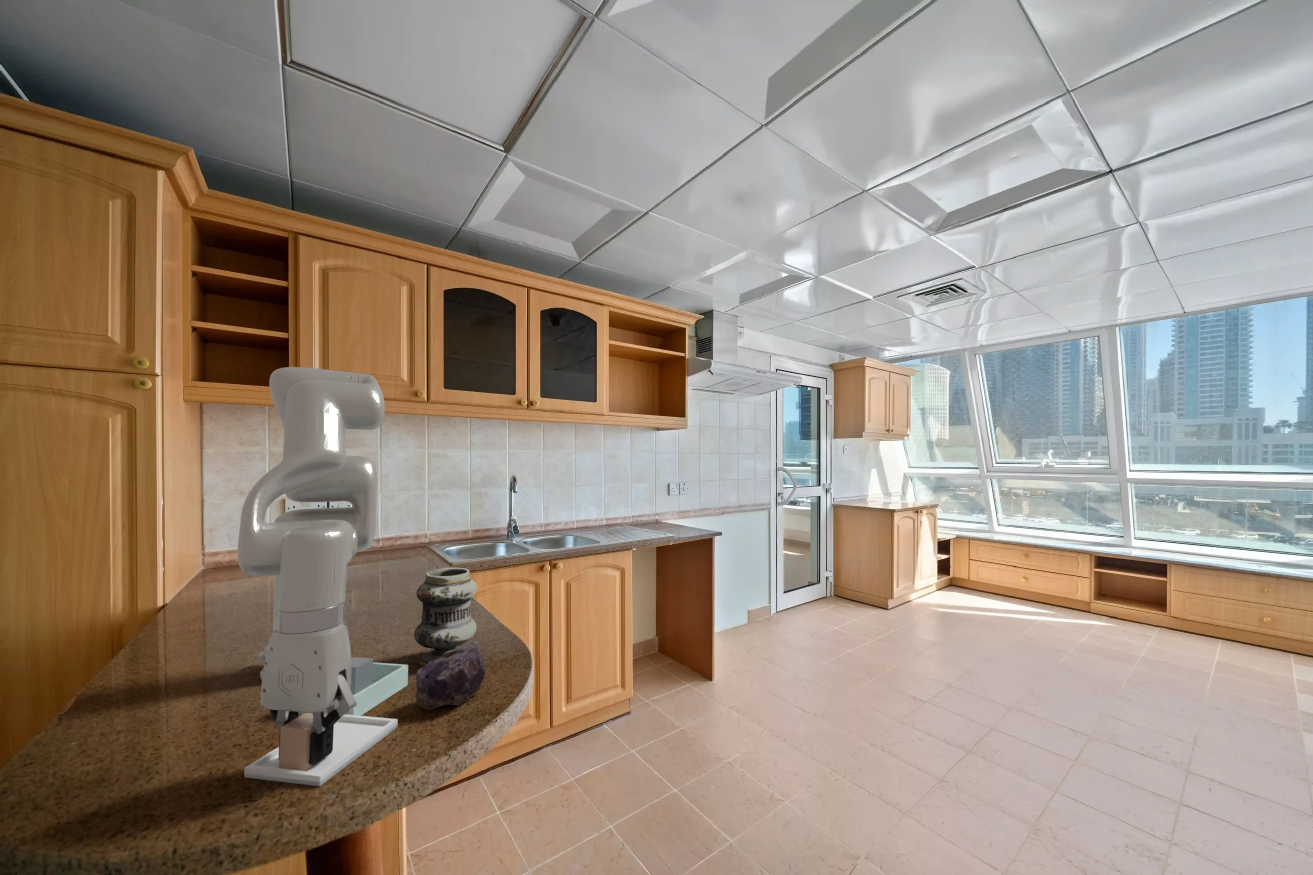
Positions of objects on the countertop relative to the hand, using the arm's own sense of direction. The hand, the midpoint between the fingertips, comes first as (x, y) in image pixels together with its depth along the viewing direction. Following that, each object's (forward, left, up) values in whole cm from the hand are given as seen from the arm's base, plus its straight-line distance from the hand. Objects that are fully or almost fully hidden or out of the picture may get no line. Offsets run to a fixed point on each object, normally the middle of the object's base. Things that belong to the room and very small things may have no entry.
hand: (306, 755), depth 65 cm
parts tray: (0, +3, -1) cm, 4 cm away
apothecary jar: (-3, +36, -1) cm, 37 cm away
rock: (+10, +20, -1) cm, 22 cm away
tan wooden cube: (0, 0, -1) cm, 1 cm away
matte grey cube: (-9, +18, -1) cm, 20 cm away
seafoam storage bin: (-9, +17, -1) cm, 20 cm away
